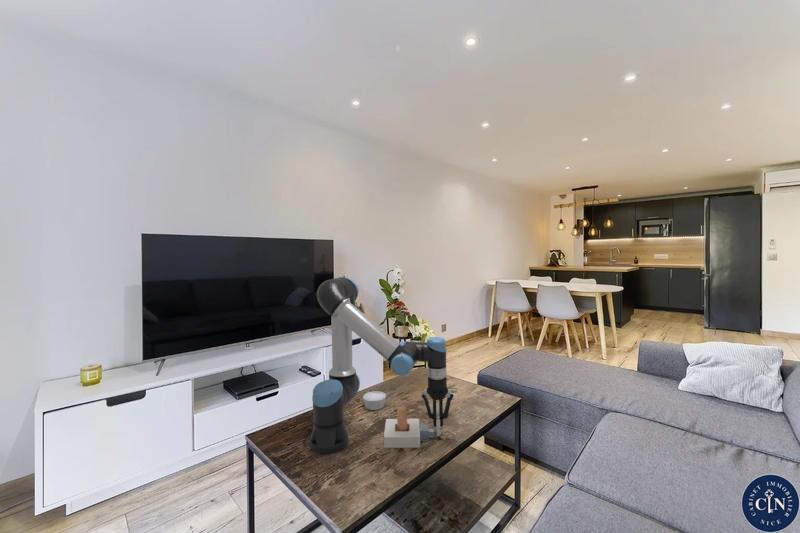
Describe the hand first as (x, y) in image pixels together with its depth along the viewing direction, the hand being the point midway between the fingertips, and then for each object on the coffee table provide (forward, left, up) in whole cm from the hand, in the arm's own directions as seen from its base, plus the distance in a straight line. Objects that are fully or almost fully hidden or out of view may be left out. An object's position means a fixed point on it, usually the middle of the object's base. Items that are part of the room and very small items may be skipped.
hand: (438, 433), depth 137 cm
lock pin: (-6, 0, -1) cm, 6 cm away
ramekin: (-29, +28, -2) cm, 40 cm away
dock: (-15, 0, -1) cm, 15 cm away
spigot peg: (-14, 0, -1) cm, 15 cm away
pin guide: (-6, 0, -1) cm, 6 cm away
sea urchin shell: (+1, +19, -2) cm, 19 cm away
